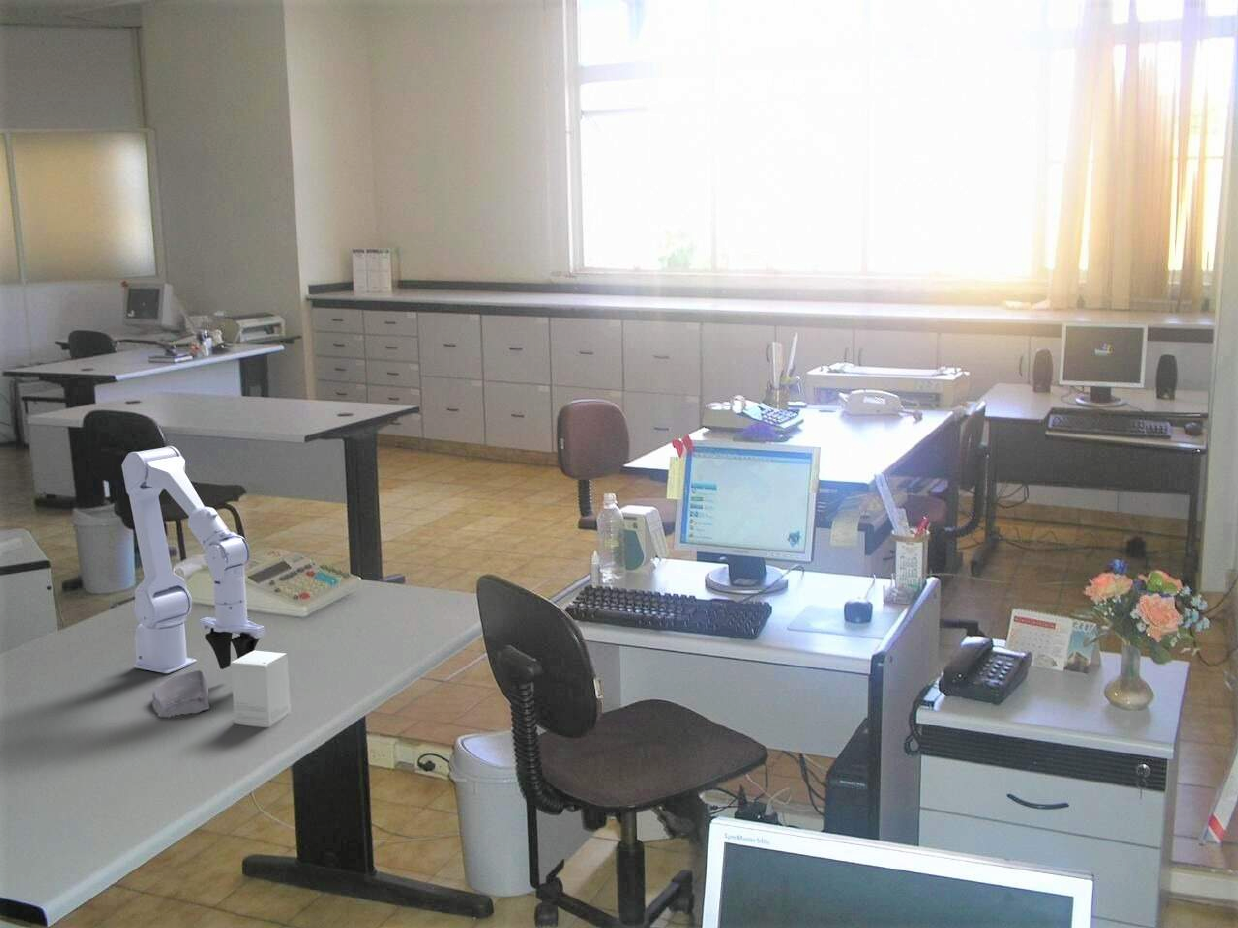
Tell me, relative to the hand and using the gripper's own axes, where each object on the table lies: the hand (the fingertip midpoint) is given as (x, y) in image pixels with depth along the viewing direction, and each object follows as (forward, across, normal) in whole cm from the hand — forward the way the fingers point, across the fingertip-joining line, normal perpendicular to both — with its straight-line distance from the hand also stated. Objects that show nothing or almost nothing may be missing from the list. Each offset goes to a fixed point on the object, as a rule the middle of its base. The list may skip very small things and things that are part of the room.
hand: (234, 669), depth 241 cm
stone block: (+2, -6, -15) cm, 17 cm away
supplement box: (+5, +16, -10) cm, 20 cm away
